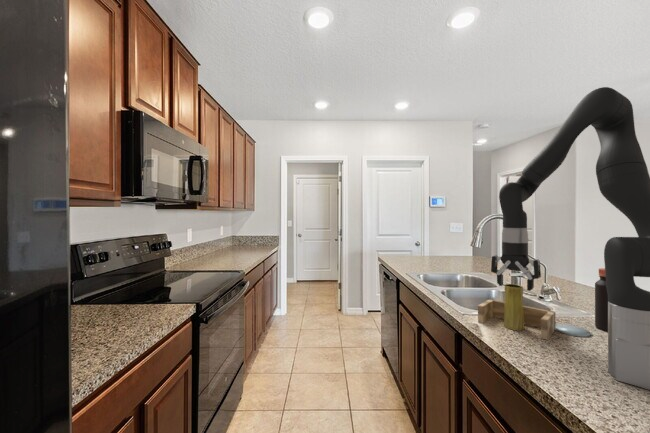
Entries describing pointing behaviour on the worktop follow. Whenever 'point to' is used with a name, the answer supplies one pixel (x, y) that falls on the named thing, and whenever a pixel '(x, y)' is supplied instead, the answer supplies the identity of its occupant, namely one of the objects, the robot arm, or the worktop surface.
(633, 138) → the robot arm
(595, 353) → the worktop surface
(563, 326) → the trivet
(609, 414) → the worktop surface
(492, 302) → the wooden bracket
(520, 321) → the vase
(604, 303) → the bottle
